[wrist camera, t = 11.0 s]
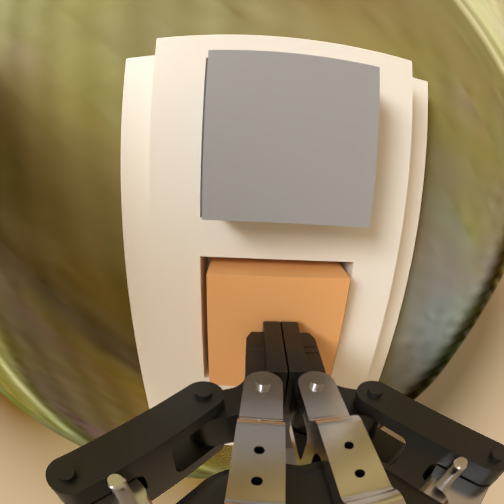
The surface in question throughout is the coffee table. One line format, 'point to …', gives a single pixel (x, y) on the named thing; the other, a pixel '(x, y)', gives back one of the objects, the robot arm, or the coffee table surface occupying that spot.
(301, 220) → the grey button
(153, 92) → the control panel
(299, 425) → the robot arm
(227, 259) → the orange button
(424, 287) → the coffee table surface
